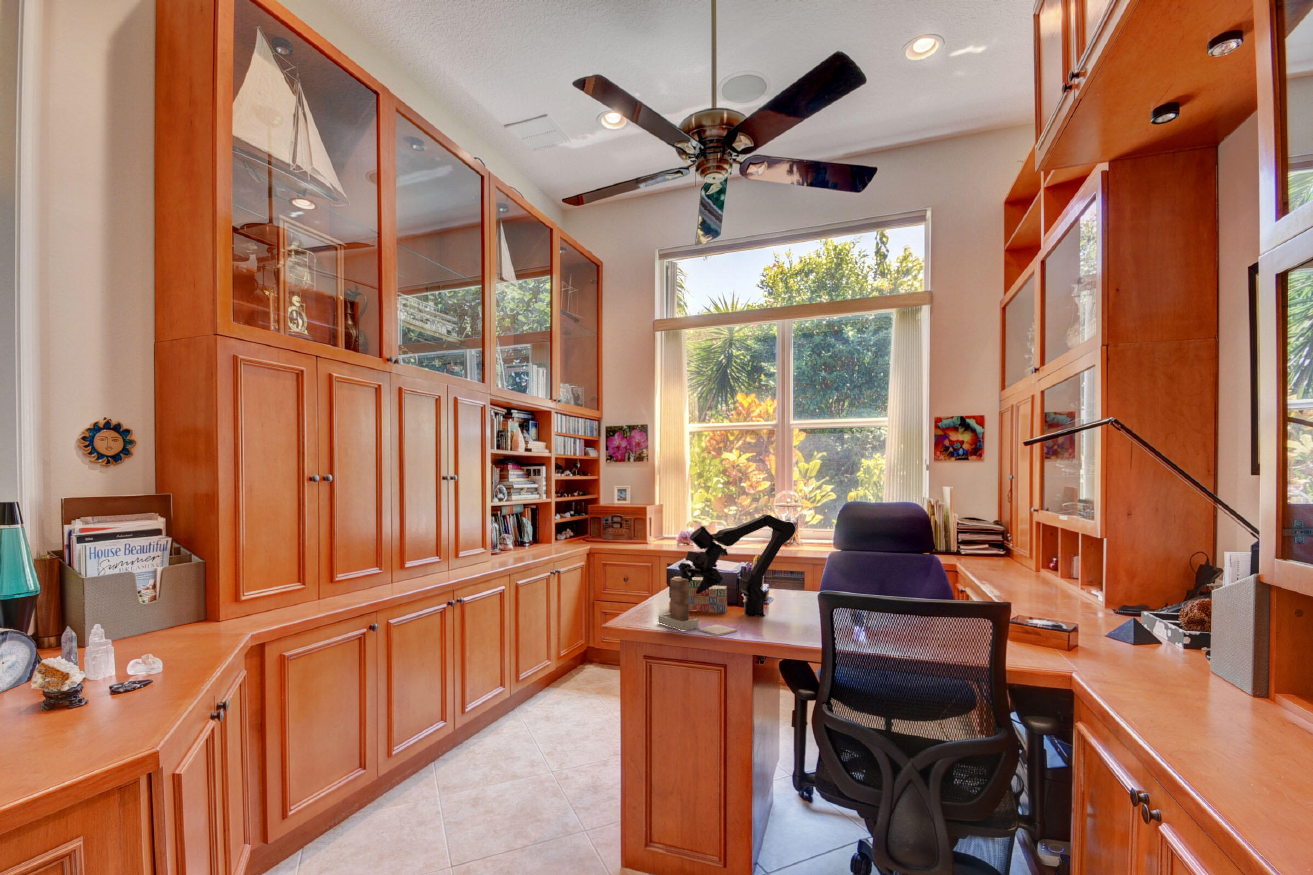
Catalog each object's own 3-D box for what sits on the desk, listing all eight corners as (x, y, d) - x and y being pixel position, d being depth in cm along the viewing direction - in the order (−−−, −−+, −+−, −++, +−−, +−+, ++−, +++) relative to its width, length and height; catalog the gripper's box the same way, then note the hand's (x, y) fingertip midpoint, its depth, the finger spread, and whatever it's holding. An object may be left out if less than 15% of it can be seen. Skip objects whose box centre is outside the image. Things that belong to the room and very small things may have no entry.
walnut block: (680, 623, 203) (679, 577, 204) (688, 625, 199) (688, 579, 201) (670, 625, 200) (670, 579, 201) (679, 628, 197) (678, 580, 198)
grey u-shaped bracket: (674, 620, 207) (674, 612, 207) (698, 627, 197) (698, 618, 197) (658, 624, 202) (658, 615, 202) (682, 631, 192) (682, 622, 192)
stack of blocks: (727, 610, 224) (727, 578, 225) (725, 613, 218) (724, 581, 219) (674, 606, 230) (674, 575, 230) (670, 610, 224) (670, 578, 224)
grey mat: (717, 626, 199) (717, 624, 199) (736, 631, 192) (736, 629, 192) (698, 630, 193) (698, 628, 193) (717, 636, 186) (717, 634, 186)
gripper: (681, 540, 215) (659, 573, 207) (716, 545, 201) (693, 580, 193) (697, 560, 219) (675, 592, 212) (732, 566, 205) (710, 601, 197)
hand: (687, 591), depth 203 cm, fingers open, 9 cm apart
